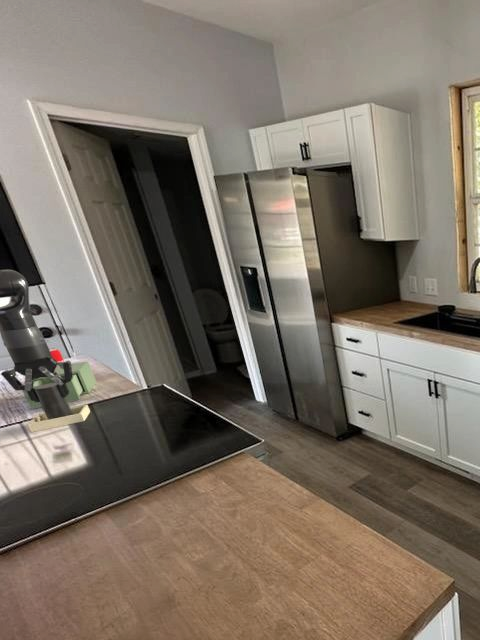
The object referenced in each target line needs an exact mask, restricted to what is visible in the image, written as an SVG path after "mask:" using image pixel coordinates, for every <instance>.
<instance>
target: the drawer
mask: <svg viewBox="0 0 480 640" xmlns="http://www.w3.org/2000/svg"><path fill="white" fill-rule="evenodd" d="M72 376H73V379H72V380H71V381H70V382H67V383H66V385H67V387H68V389H69V391H70V392H69V394H68V396H67V397H65V398H66V401H67V403H69V402H75V401H79V400H81V397H80V396H81V395H80V394H81V393H82V391H83V390H84V387H83V385H82V383H81V380H80V378H79V376H78V374H77V373H75V374H72ZM60 377H62V378H63V379H64V378H65V375H63V376H60ZM49 383H56V382H55V381H53V380H51V379H50V378H44V379H38V380H35V381H34V385H33V388H34V387H37V386H40V385H44V384H49ZM21 391H22V393H23V395H24V397H25V399H26V401H27V403H28V405H29V407H30V409H37V408H42V406H41V404H40V402H35V401H32V400H31V399H30V397H29V395H28V393H27V392H26V391H24V390H21Z"/></svg>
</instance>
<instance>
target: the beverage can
mask: <svg viewBox="0 0 480 640" xmlns="http://www.w3.org/2000/svg"><path fill="white" fill-rule="evenodd" d="M49 350H50V353H51V355H52V357H53V359H54V360H56V361H57V362H65V360H64V358H63V355H62V353H61V351H60V350H59V349H58V348H57V347H51V348H49ZM57 366H58V365H57Z"/></svg>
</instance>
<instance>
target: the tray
mask: <svg viewBox="0 0 480 640" xmlns="http://www.w3.org/2000/svg"><path fill="white" fill-rule="evenodd" d="M70 409H71V411H72V414H73V415H70V416H65V417H60V418H55V419H50V420H48V419H47V417H46V414H45V412H41V413H37V414H35V415H34V416H33V417H32V419H31V420H29V422H27V427H28V429H29V431H30V432H31V433H34V432H35V433H36V432H39V431H44V430H48V429H49V430H50V429H54V428H59V427H63V426H68V425H73V424H78V423H83V422H85V421H86V419H87V418H88V416H89V415H90V413H91V410H90V409H91V408H89V405H88V404H83V405H77V406H72V407H70Z"/></svg>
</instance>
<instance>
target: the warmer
mask: <svg viewBox="0 0 480 640" xmlns="http://www.w3.org/2000/svg"><path fill="white" fill-rule="evenodd" d="M71 367H72V374H75V373H77V374H78V376H79V378H80V380H81V383H82V385H83V387H84V390H83V391H82V393H81V394H80V395H79V396H82V395H86V394H90V393H91V391H92V390H93V388H94V387H95V386H96V385H97V383H96V382H97V380H96V377H95V375H94V372H93V370H92V368H91V365H90V364H89V361H87V360H86V361H81V362H75V363H71ZM54 371H56V372H57V373H58V374H59V375H60V376H63V375H64V369H61V368H60V366H57V367H56V369H55V370H54ZM45 378H49V377H45ZM38 379H44V377H40V378H38ZM38 379H35V380H38ZM35 380H34V381H35ZM94 385H95V386H94Z"/></svg>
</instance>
